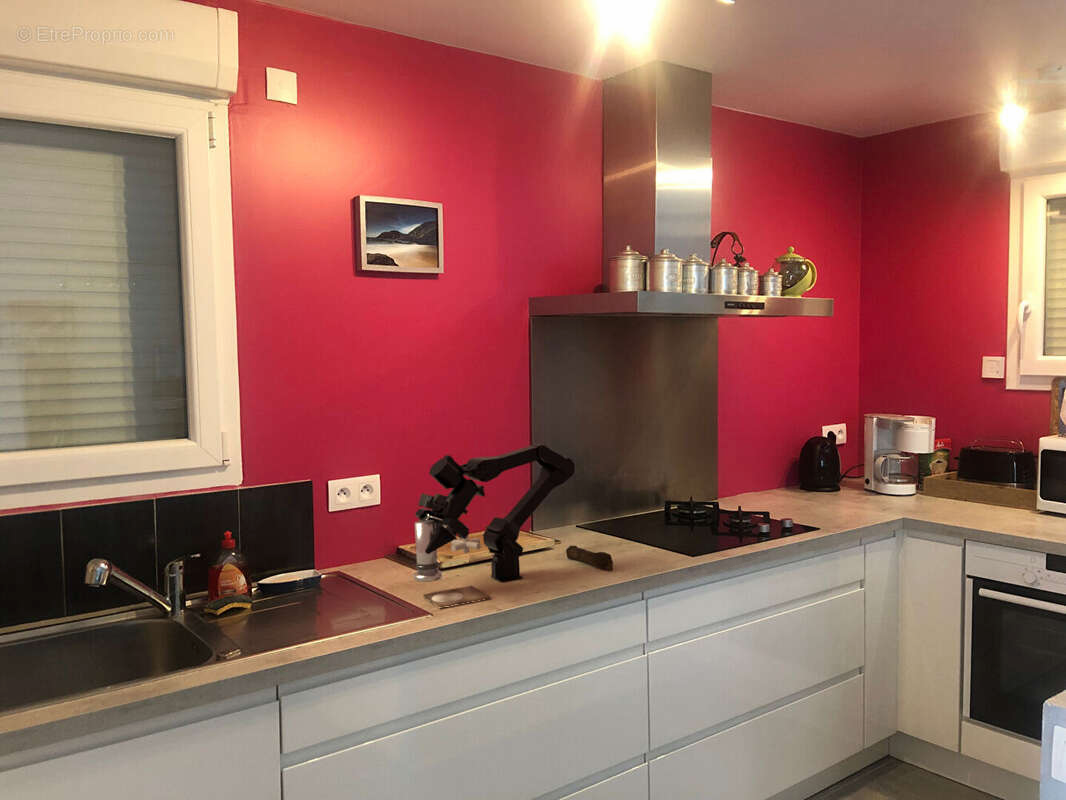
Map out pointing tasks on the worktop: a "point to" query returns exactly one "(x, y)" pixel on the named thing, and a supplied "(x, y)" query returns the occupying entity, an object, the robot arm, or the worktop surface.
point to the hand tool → (591, 557)
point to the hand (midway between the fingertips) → (421, 551)
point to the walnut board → (456, 596)
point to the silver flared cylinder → (426, 562)
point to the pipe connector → (465, 544)
